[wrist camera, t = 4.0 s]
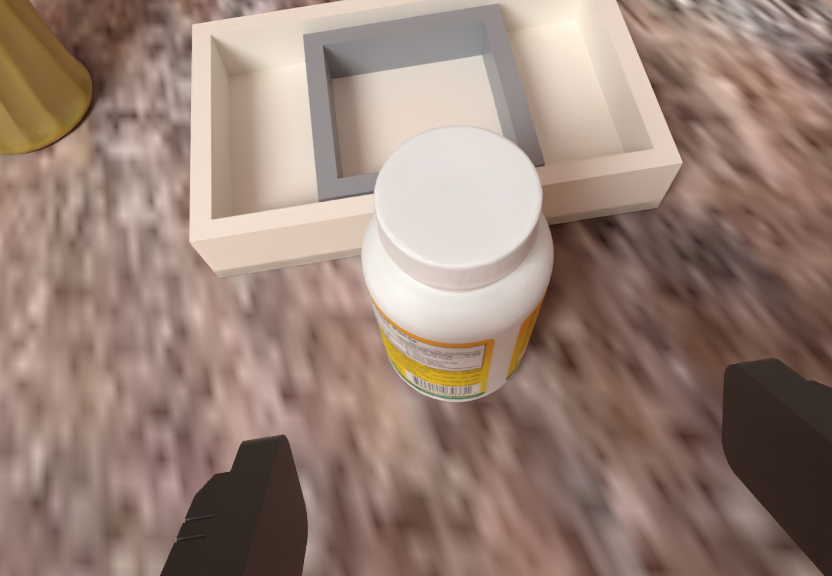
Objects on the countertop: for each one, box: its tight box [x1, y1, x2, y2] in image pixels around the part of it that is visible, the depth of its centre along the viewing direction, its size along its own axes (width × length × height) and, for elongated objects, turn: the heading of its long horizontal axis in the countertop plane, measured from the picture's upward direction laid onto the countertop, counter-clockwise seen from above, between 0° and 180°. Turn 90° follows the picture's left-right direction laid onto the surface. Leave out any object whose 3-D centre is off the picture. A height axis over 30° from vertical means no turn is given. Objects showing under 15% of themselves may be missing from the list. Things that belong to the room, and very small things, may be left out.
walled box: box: [190, 0, 683, 278], centre depth 25 cm, size 18×11×3 cm, turn 99°
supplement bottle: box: [361, 125, 554, 402], centre depth 18 cm, size 5×5×10 cm
